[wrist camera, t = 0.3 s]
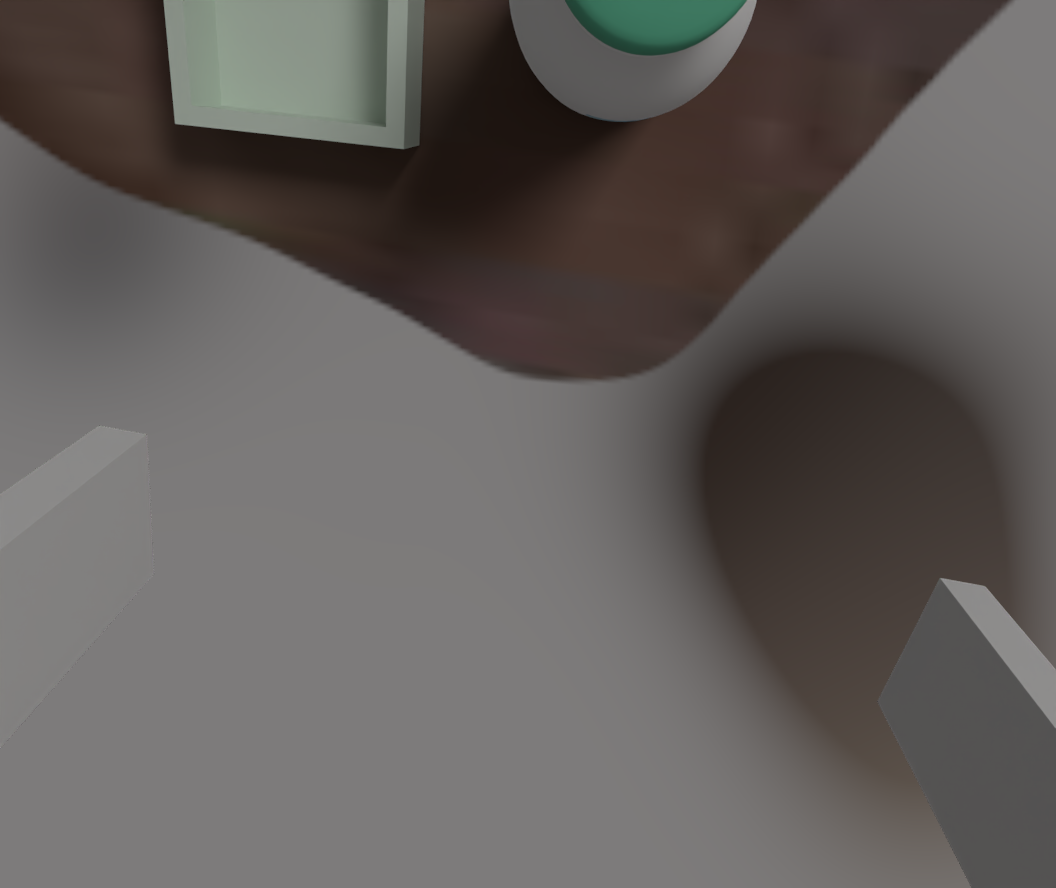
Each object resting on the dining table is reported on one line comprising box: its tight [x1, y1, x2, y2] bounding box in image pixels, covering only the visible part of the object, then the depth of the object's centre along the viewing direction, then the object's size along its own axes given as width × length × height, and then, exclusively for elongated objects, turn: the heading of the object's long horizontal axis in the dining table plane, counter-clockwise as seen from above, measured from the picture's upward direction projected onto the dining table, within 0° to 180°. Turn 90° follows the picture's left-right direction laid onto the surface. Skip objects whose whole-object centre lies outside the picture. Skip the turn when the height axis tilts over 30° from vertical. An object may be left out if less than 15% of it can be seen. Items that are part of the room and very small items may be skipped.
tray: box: [164, 0, 425, 149], centre depth 31 cm, size 10×10×4 cm
